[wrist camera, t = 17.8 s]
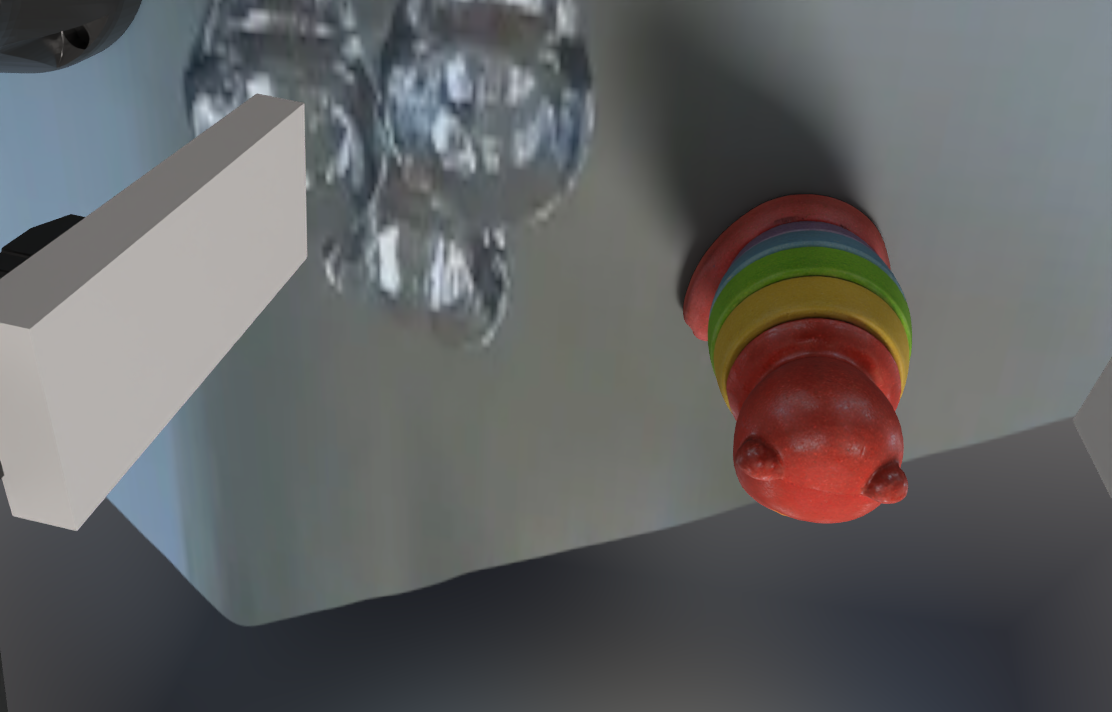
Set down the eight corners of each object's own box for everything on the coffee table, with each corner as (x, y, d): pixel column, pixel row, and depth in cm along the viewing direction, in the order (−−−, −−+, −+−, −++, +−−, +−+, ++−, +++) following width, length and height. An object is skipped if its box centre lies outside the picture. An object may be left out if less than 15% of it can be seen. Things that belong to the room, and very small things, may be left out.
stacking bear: (674, 325, 52) (649, 551, 37) (728, 164, 46) (723, 357, 32) (857, 373, 52) (904, 619, 37) (934, 217, 46) (1026, 436, 31)
